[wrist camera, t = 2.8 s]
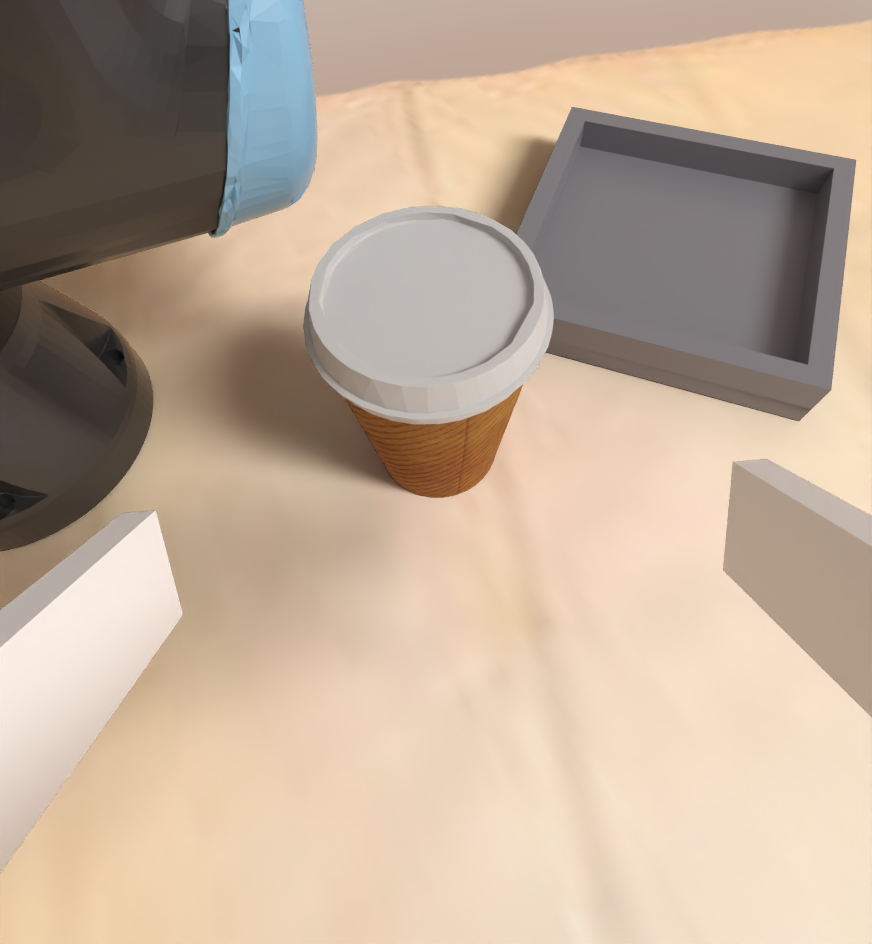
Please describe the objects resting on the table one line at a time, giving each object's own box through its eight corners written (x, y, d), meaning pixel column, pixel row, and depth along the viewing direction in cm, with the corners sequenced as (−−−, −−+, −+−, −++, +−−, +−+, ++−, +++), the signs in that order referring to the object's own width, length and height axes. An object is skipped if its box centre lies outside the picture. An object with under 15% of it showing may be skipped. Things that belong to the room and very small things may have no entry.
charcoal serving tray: (485, 335, 35) (487, 300, 32) (565, 148, 42) (572, 106, 39) (799, 420, 31) (831, 389, 29) (828, 201, 38) (856, 159, 36)
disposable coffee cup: (367, 369, 34) (322, 192, 23) (529, 379, 33) (560, 202, 22) (337, 518, 30) (267, 389, 19) (521, 535, 29) (556, 409, 18)
